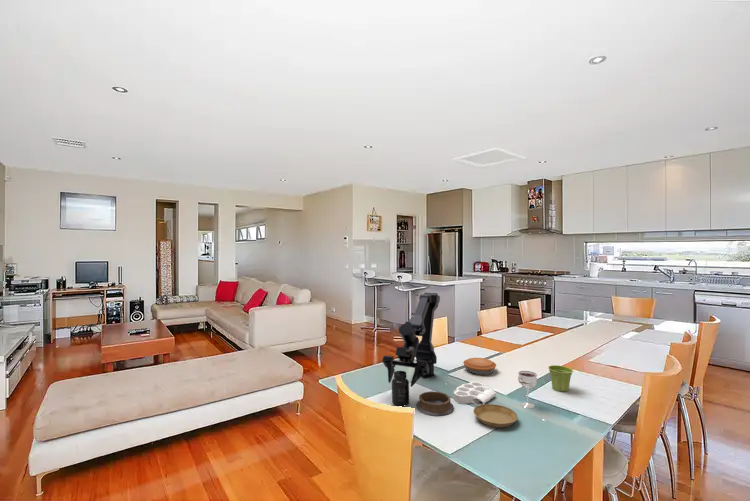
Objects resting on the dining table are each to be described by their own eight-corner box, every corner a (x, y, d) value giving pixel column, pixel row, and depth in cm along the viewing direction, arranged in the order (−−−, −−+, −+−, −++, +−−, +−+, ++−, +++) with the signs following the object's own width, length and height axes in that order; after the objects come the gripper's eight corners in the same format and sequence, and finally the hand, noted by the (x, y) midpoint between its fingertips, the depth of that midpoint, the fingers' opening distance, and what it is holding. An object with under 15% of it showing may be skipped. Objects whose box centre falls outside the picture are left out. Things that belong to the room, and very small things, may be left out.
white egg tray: (479, 410, 134) (445, 399, 144) (499, 395, 147) (466, 386, 157) (479, 401, 134) (445, 391, 144) (499, 387, 147) (466, 378, 157)
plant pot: (552, 383, 159) (552, 363, 159) (576, 389, 152) (576, 368, 152) (544, 389, 152) (544, 368, 152) (568, 395, 145) (568, 374, 145)
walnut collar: (441, 397, 145) (441, 388, 145) (461, 412, 132) (461, 402, 132) (410, 402, 140) (410, 393, 140) (427, 418, 127) (427, 408, 127)
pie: (500, 376, 167) (500, 366, 167) (467, 376, 168) (467, 366, 167) (490, 365, 183) (490, 355, 183) (460, 365, 183) (460, 355, 183)
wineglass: (535, 410, 133) (535, 378, 132) (516, 406, 136) (516, 374, 136) (538, 403, 138) (538, 372, 138) (519, 399, 142) (519, 369, 142)
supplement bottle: (411, 401, 141) (411, 371, 141) (405, 408, 135) (405, 376, 135) (395, 398, 144) (395, 368, 144) (389, 405, 138) (388, 374, 138)
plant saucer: (465, 420, 126) (465, 413, 126) (486, 407, 137) (486, 400, 137) (505, 436, 116) (505, 428, 116) (524, 420, 126) (524, 412, 126)
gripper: (383, 335, 148) (371, 370, 138) (427, 340, 140) (417, 378, 130) (391, 349, 155) (380, 384, 145) (433, 355, 147) (424, 392, 137)
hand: (399, 384), depth 139 cm, fingers open, 9 cm apart
